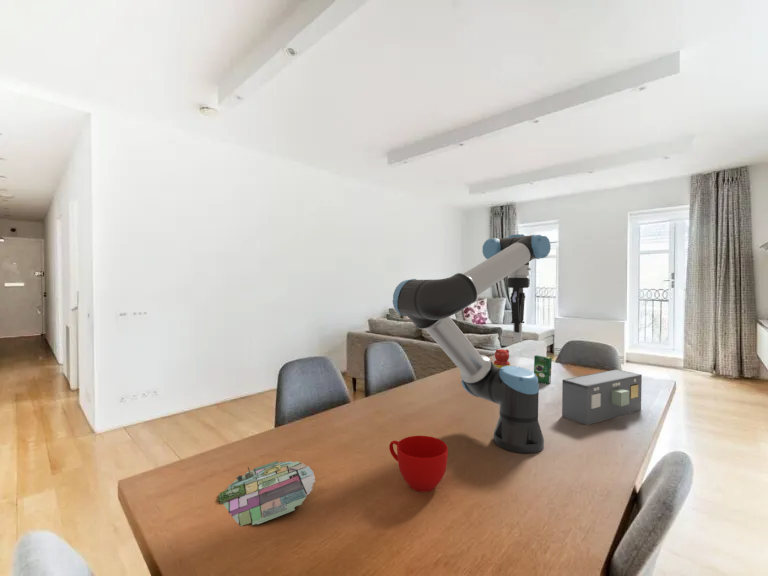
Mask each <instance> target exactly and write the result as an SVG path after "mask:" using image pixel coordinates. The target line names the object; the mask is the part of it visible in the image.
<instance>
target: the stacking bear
mask: <svg viewBox="0 0 768 576" xmlns="http://www.w3.org/2000/svg"><path fill="white" fill-rule="evenodd" d="M509 353H510V351H509V349H502V348H500V349H495V352H494V357H495V360H494V361H493V364H494V365H495V366H496V367H498V368H502V367H504V366H512V365H511V363H510V361H509V359H510V354H509Z"/></svg>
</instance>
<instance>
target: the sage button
mask: <svg viewBox="0 0 768 576" xmlns="http://www.w3.org/2000/svg"><path fill="white" fill-rule="evenodd" d="M611 404H615V405H618V406H624V405H628V404H629V391H628V390H624V389H620V388H616V389H612V390H611Z"/></svg>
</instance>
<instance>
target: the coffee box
mask: <svg viewBox="0 0 768 576" xmlns="http://www.w3.org/2000/svg"><path fill="white" fill-rule="evenodd" d="M552 359H553V358H552V357H548V356H543V355H538V354H537V355H534V359H533V360H534V362H533V372H534V373H535V374H536V376H537V378H538V383H541V382H542V383H541V384H545V383H546V384H547V385H550V384H551V383H552V364H553V363H552ZM546 384H545V385H546Z"/></svg>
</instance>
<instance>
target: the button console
mask: <svg viewBox="0 0 768 576" xmlns="http://www.w3.org/2000/svg"><path fill="white" fill-rule="evenodd" d="M634 384H638V397H636V398H632V399H630V385H634ZM561 385H562V391H561V392H562V395H561V396H562V397H561V398H562V399H561V401H562V402H561V405H562V406H561V417H563V418H567V419H569V420H571V421H574V422H577V423H580V424H582V425H586V426H588V425H591V424H596V423H599V422H602V421H606V420H609V419H613V418H616V417H620V416H624V415H628V414H631V413H634V412H637V410H638V411H641V410H642V374H640V373H635V372H631V371H626V370H621V369H617V368H615V369H611V370H606V371H600V372H596V373H590V374H584V375H580V376H575V377H569V378H565V379H562V383H561ZM616 388H620V389H624V390H628V391H629V404H628V405H624V406H618V405H615V404H611V390H612V389H616ZM595 393H601V405H600V407H597V408H594V409H591V394H595ZM630 412H631V413H630Z"/></svg>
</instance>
